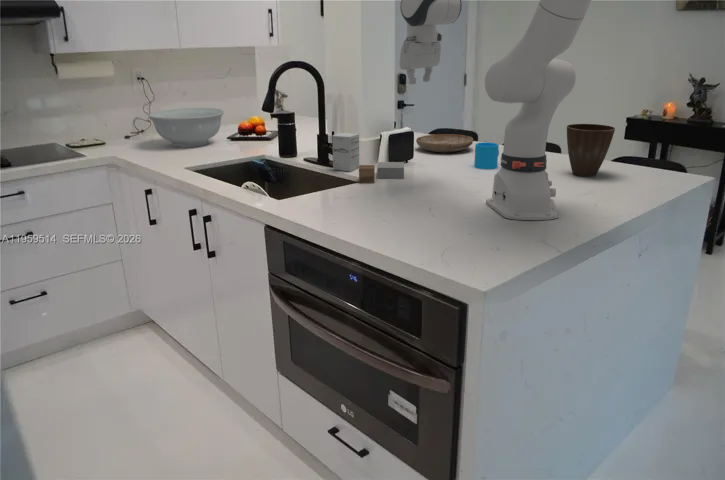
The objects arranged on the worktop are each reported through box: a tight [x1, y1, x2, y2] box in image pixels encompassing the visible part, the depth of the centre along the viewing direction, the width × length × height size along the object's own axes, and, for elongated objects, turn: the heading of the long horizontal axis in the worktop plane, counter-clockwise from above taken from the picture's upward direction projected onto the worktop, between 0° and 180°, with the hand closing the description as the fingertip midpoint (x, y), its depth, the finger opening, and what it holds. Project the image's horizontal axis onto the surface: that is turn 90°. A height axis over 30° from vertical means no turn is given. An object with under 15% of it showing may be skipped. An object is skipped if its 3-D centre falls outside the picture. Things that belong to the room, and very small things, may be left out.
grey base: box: [376, 161, 405, 180], centre depth 189 cm, size 9×9×4 cm
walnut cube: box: [358, 164, 376, 184], centre depth 181 cm, size 5×5×5 cm
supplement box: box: [332, 132, 360, 173], centre depth 197 cm, size 7×7×13 cm
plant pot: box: [566, 123, 616, 178], centre depth 184 cm, size 15×15×16 cm
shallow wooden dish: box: [415, 133, 474, 153], centre depth 230 cm, size 23×24×5 cm
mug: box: [473, 141, 500, 170], centre depth 199 cm, size 12×8×8 cm
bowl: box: [148, 107, 225, 149], centre depth 248 cm, size 32×32×15 cm
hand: (419, 82), depth 172 cm, fingers open, 8 cm apart
